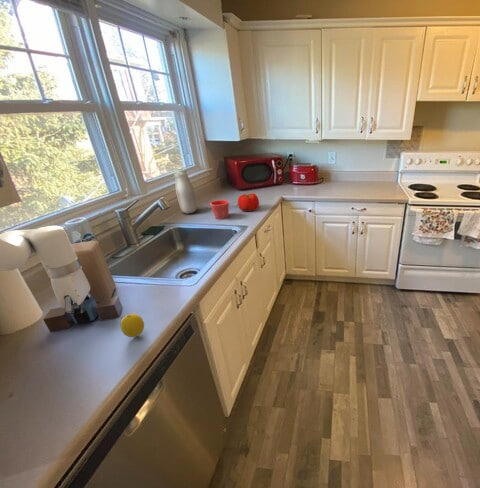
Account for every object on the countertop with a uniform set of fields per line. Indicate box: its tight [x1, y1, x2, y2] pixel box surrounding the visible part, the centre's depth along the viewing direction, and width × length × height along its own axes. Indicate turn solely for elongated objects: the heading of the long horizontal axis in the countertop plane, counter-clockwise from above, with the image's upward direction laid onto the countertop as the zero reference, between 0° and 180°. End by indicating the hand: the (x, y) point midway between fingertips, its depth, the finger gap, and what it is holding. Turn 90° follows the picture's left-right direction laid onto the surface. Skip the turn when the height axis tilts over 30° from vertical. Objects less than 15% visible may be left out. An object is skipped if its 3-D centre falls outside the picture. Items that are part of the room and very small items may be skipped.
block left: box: [42, 306, 75, 333], centre depth 87 cm, size 5×5×5 cm
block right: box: [95, 295, 124, 322], centre depth 91 cm, size 5×5×5 cm
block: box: [71, 240, 116, 304], centre depth 97 cm, size 10×10×20 cm
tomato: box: [237, 192, 260, 212], centre depth 186 cm, size 14×13×10 cm
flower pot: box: [209, 199, 230, 220], centre depth 173 cm, size 11×11×10 cm
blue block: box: [70, 298, 98, 324], centre depth 89 cm, size 5×5×5 cm
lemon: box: [120, 313, 145, 338], centre depth 82 cm, size 6×6×8 cm
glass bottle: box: [173, 169, 198, 215], centre depth 177 cm, size 10×10×28 cm
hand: (87, 315), depth 90 cm, fingers closed on blue block, 5 cm apart
